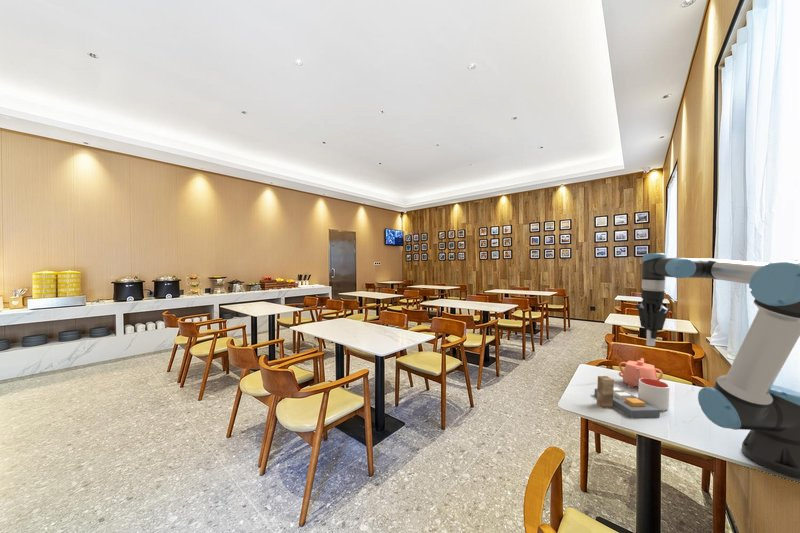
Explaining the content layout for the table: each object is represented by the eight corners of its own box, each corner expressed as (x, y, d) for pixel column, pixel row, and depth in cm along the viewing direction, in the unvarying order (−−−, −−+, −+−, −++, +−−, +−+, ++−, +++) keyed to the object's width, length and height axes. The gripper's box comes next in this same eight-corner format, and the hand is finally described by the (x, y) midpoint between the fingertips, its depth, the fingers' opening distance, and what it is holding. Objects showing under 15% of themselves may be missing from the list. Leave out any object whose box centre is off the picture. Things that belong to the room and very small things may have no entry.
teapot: (635, 393, 141) (637, 366, 141) (612, 379, 158) (613, 355, 157) (669, 394, 141) (670, 367, 140) (641, 380, 157) (642, 355, 157)
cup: (674, 413, 123) (675, 389, 123) (646, 410, 125) (647, 386, 125) (658, 401, 133) (659, 379, 133) (633, 399, 135) (634, 377, 135)
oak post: (612, 408, 127) (613, 379, 126) (603, 408, 126) (604, 379, 126) (605, 403, 131) (606, 376, 130) (596, 403, 130) (597, 376, 130)
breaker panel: (659, 417, 120) (660, 406, 120) (631, 418, 119) (631, 406, 119) (619, 394, 140) (619, 384, 140) (594, 395, 139) (594, 385, 139)
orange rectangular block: (644, 410, 122) (645, 402, 122) (633, 411, 122) (633, 402, 122) (636, 405, 126) (636, 398, 126) (624, 406, 126) (625, 398, 126)
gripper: (676, 291, 122) (674, 350, 122) (646, 288, 135) (644, 341, 135) (659, 291, 121) (657, 350, 122) (631, 288, 134) (629, 341, 134)
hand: (650, 345), depth 128 cm, fingers closed
